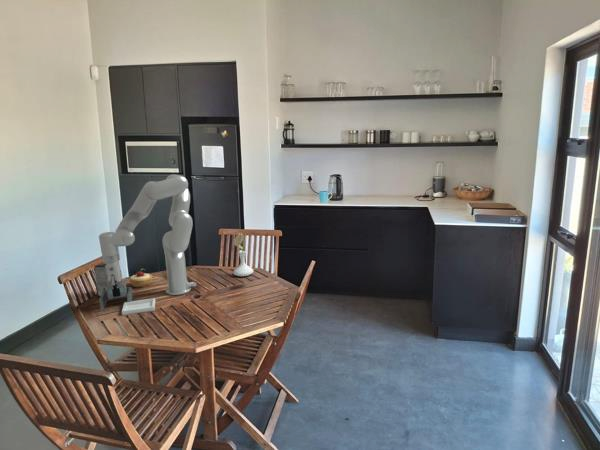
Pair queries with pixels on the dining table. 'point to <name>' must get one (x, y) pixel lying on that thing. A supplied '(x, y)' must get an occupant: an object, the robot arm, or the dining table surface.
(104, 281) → the coffee box
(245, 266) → the flower in vase
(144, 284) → the pastry
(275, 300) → the dining table surface
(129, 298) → the bay
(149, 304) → the tray
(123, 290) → the grey chamfered block
